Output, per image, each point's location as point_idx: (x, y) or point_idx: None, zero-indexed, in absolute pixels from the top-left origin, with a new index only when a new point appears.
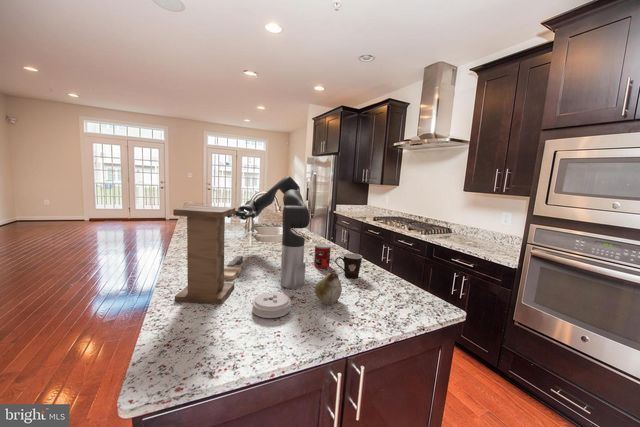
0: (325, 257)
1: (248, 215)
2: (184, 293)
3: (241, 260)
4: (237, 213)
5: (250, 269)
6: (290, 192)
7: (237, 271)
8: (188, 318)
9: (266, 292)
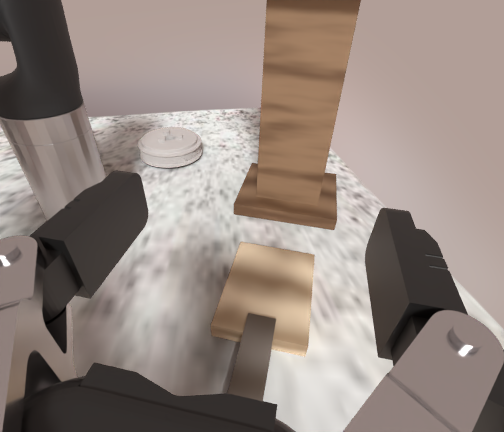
0: None
1: (86, 194)
2: (324, 179)
3: None
4: (281, 428)
5: (174, 337)
6: None
7: (229, 275)
8: None
9: (172, 149)
